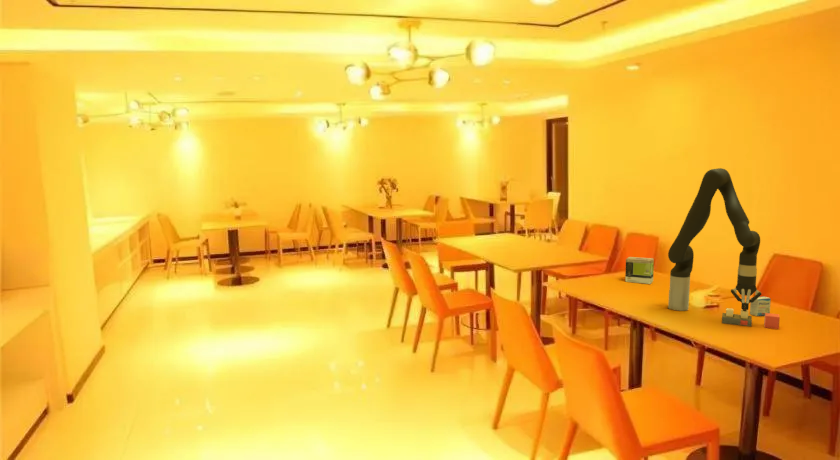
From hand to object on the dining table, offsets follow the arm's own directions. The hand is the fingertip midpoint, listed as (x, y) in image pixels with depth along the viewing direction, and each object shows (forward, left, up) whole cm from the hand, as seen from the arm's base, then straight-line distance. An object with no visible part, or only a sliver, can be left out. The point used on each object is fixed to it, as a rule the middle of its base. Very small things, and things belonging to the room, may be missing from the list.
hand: (744, 310), depth 262 cm
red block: (+11, 0, -6) cm, 13 cm away
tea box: (-56, +70, -7) cm, 90 cm away
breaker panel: (-3, 0, -6) cm, 7 cm away
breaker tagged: (0, 0, -5) cm, 5 cm away
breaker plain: (-6, 0, -5) cm, 8 cm away
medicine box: (+7, +20, -7) cm, 22 cm away
